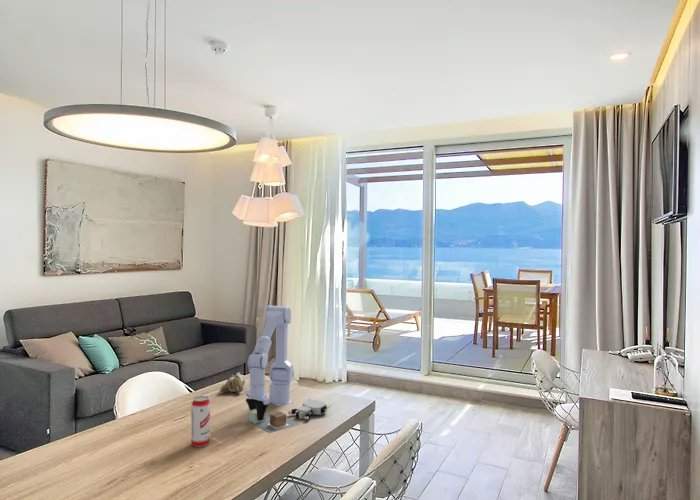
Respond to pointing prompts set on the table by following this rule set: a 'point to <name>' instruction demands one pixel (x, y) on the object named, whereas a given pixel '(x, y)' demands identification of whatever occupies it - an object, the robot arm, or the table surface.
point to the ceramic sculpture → (234, 383)
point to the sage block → (254, 416)
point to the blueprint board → (269, 428)
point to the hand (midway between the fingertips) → (257, 418)
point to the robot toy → (309, 409)
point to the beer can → (200, 421)
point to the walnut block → (277, 419)
